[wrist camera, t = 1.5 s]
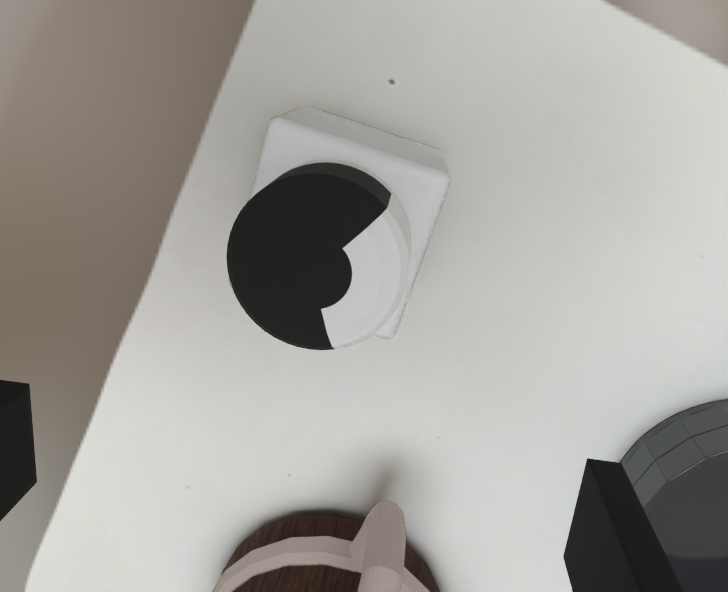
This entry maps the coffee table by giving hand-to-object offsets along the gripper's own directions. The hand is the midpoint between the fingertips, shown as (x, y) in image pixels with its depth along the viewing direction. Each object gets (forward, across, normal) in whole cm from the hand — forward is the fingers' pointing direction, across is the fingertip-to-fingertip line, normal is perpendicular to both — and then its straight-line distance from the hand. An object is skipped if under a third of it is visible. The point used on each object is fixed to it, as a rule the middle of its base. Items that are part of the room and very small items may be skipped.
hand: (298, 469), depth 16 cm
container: (+22, -1, +2) cm, 22 cm away
